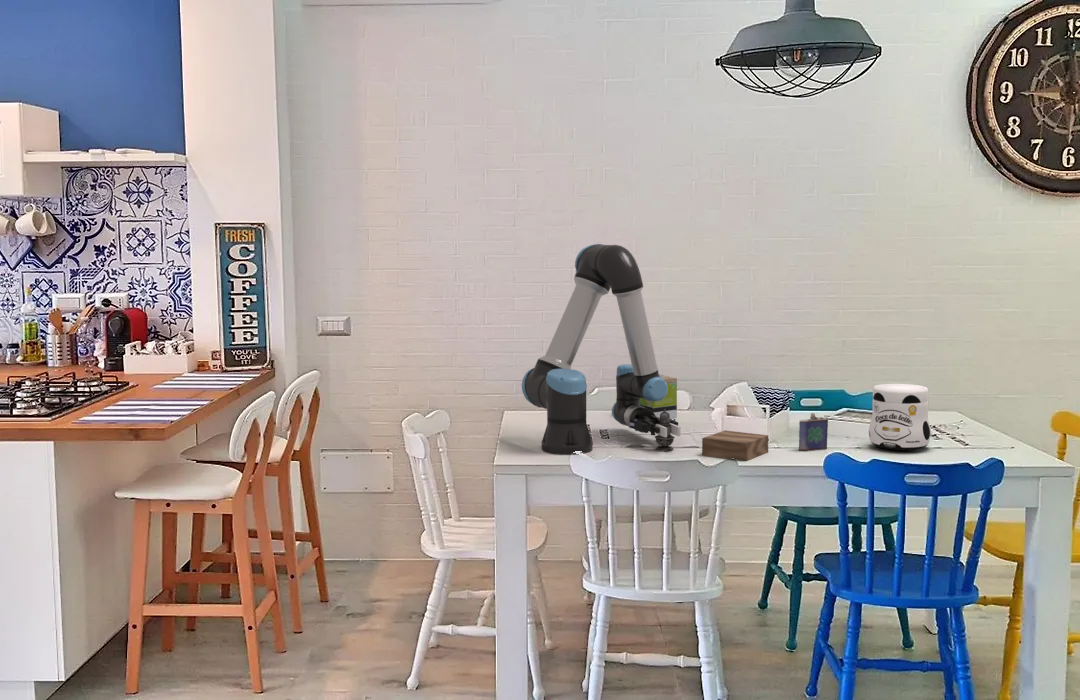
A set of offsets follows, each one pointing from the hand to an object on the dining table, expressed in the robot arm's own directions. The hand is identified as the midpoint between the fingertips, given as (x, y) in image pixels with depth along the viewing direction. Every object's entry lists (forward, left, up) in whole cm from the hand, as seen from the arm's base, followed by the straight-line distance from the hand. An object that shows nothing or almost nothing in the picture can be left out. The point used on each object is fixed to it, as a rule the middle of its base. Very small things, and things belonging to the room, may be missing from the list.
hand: (672, 432), depth 321 cm
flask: (+27, -32, -6) cm, 42 cm away
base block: (+9, -16, -6) cm, 19 cm away
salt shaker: (+3, +4, -6) cm, 8 cm away
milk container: (+43, -52, -6) cm, 68 cm away
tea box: (+46, +34, -7) cm, 57 cm away
